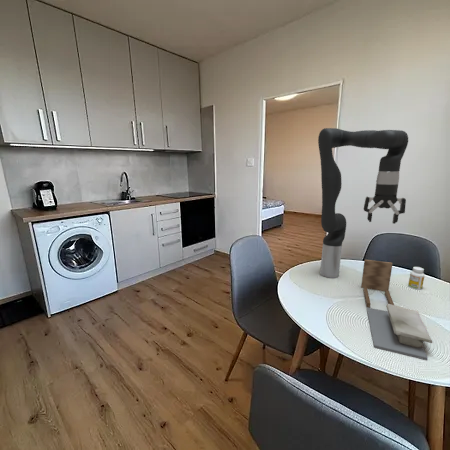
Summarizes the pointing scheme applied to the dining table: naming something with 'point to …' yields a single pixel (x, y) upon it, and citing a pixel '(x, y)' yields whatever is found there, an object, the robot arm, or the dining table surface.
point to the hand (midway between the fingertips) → (381, 222)
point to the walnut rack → (376, 279)
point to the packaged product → (408, 326)
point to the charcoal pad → (389, 335)
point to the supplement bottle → (416, 278)
